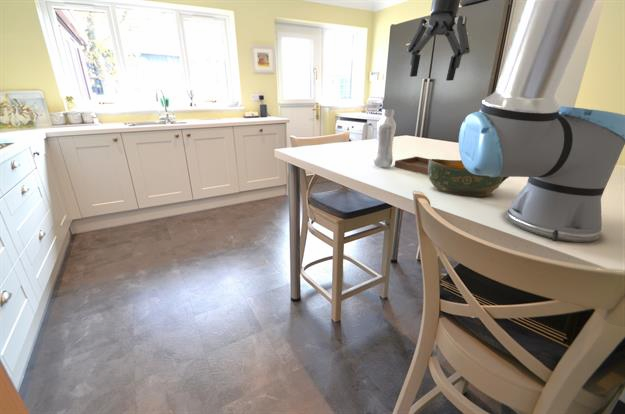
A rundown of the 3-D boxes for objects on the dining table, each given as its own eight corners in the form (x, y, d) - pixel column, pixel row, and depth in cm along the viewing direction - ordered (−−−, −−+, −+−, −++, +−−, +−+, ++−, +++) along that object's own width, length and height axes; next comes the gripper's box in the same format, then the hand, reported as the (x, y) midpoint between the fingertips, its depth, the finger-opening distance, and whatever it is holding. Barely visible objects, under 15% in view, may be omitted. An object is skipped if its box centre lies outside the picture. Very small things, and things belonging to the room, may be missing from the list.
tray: (450, 180, 89) (451, 173, 88) (394, 166, 105) (395, 160, 104) (470, 174, 97) (472, 167, 96) (415, 162, 113) (416, 156, 112)
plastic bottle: (392, 169, 101) (400, 110, 93) (373, 168, 102) (379, 110, 94) (390, 165, 107) (397, 109, 99) (372, 164, 108) (378, 109, 100)
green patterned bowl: (502, 207, 68) (514, 166, 65) (421, 189, 81) (427, 154, 77) (511, 194, 78) (521, 158, 74) (436, 180, 90) (442, 148, 86)
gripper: (498, -7, 74) (474, 81, 85) (418, 2, 92) (407, 74, 102) (483, -10, 70) (460, 82, 81) (403, 0, 88) (393, 75, 99)
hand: (430, 78), depth 92 cm, fingers open, 13 cm apart
